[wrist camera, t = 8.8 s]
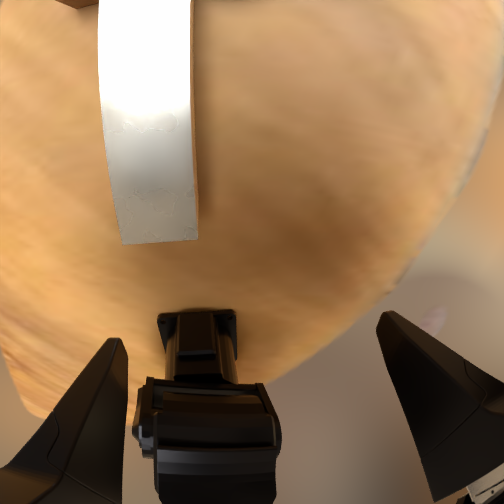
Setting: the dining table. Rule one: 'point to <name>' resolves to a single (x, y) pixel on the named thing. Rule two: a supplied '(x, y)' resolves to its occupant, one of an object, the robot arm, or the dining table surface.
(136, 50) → the rail
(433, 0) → the dining table surface
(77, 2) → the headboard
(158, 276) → the dining table surface
